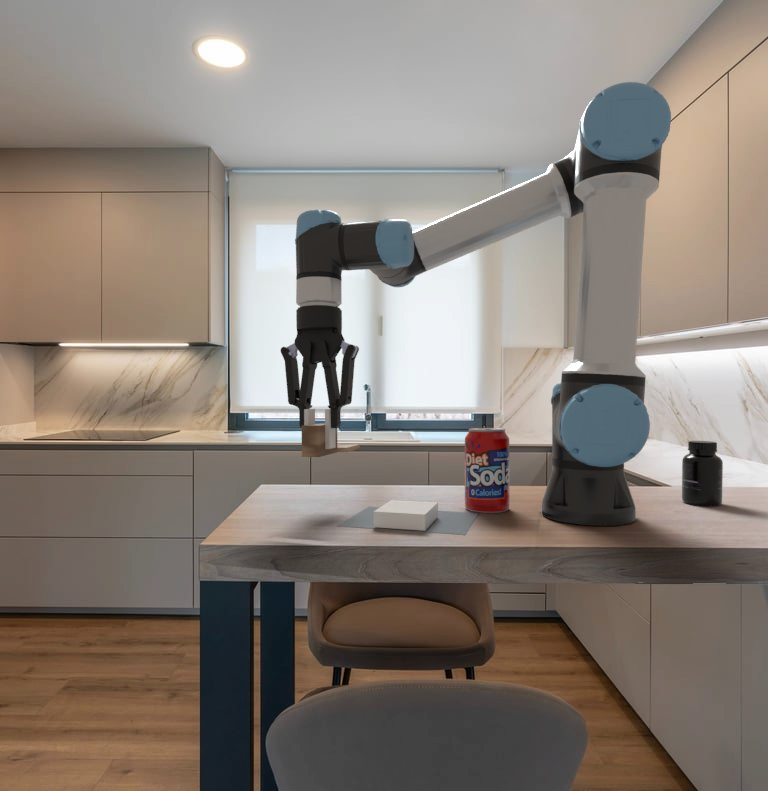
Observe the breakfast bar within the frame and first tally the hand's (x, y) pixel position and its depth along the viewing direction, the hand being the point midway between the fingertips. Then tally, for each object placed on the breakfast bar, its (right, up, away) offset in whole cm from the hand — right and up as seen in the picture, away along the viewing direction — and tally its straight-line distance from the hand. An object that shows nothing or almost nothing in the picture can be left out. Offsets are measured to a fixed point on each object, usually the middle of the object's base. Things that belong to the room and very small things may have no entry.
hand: (320, 447), depth 93 cm
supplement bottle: (+72, -12, +15) cm, 75 cm away
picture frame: (+16, -10, +1) cm, 19 cm away
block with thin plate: (+1, -1, +4) cm, 4 cm away
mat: (+15, -12, -1) cm, 19 cm away
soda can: (+29, -12, +7) cm, 32 cm away
